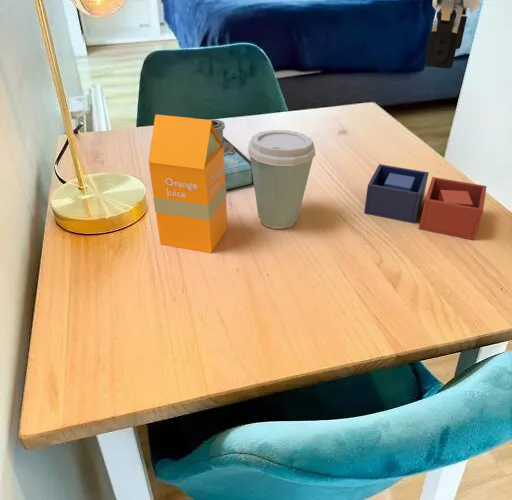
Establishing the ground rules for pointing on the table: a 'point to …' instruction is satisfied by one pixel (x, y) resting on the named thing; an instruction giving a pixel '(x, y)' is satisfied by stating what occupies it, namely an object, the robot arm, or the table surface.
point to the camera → (233, 161)
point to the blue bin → (395, 195)
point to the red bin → (452, 209)
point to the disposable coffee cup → (280, 174)
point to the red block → (455, 197)
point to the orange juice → (188, 182)
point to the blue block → (400, 182)
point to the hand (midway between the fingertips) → (443, 56)
